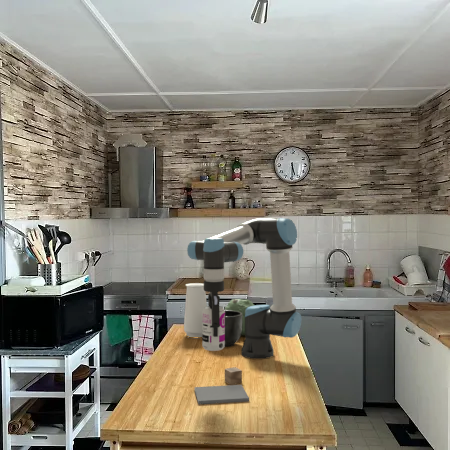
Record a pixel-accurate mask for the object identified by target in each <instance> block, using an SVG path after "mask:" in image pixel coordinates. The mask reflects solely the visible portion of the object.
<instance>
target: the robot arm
mask: <svg viewBox="0 0 450 450" xmlns="http://www.w3.org/2000/svg"><path fill="white" fill-rule="evenodd" d="M297 230H298V229H297V227H296V224H295V222H294V221H293V220H291V219H290V218H285V217H284V218H283V217H266V218H265V217H259V218H254V219H251V220H248V221H245V222H242V223H240V224H238V225H237V226H236V228H233V229H230V230H227V231H225V232H222V233H220V234H218V235H217V234H216V235H214V236H212V237H207V238H204V239H203V240H192V241H190V242H189V244H188V245H187V248H186V250H187V256H188V258H190V259H191V260H196V261H203V270H202V271H201V274H202V275H203V279H204V280H203V284H204V291H206V292H207V293H208V295H207V300H208V301H207V303H208V304H207V306H209V307H210V309H212V326H210V328H211V345H212V346H215V345H219V327H220V315H219V307H220V302H221V301H220V300H221V298H220V296H219V292H220V293H221V292H224V291H225V281H224V279H225V263H230V262H233V263H235V262H238V261H240V260H241V259H242V258H243V256H244V247H243V245H244V246H245V245H249V244H250V245H251V244H264V245H265V244H266V247H265V248H266V250H267V251H268V252H269V257H270V258H269V259H270V274H271V288H272V289H271V292H272V293H271V294H272V304H271V306H270V304H256V305H255V304H254V306H250V307H247V308H246V311H245V335H244V341H243V344H242V346H241V356H242V357H245V358H247V359H253V360H258V359H259V360H263V359H269V358H272V357H273V356H274V351H275V350H274V347H273V344H272V340H271V336H277V337H280V338H281V337H283V338H294V337H296V336H297V335H298V333H299V331H300V329H301V327H302V326H301V325H302V315H301V313H300V312H298V311H297V309H296V308H297V307H296V306H295V304H294V303H293V298H292V297H293V295H292V294H293V293H292V277H291V274H292V273H291V260H290V259H291V258H290V252H291V250H292V249H293V245H295V244H296V242H297V239H298V231H297Z"/></svg>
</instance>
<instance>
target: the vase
mask: <svg viewBox="0 0 450 450" xmlns="http://www.w3.org/2000/svg"><path fill="white" fill-rule="evenodd" d="M185 287H186V291H185V292H186V293H185V303H184V304H185V306H184V317H183V318H184V321H183V323H184V324H183V331H184V333H185V334H186V337H187V336H189V337H202V312H203V310H204V307H206V306H208V304H207V295H206V291H204V283H201V282H200V283H199V282H195V283H194V282H193V283H190V282H189V283H186V284H185ZM189 337H188V338H189Z"/></svg>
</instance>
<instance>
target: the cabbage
mask: <svg viewBox="0 0 450 450" xmlns="http://www.w3.org/2000/svg"><path fill="white" fill-rule="evenodd" d="M250 306H255V304H254V303H253V302H252V300H250V299H247V298H246V299H242V298H234V299H231V300H230V301H229V302H228V303H227V305H226V306H225V307H224V310H232V311H238V312H241V313H242V314H243V322H242V332H241V336H245V311H246V308H247V307H250Z"/></svg>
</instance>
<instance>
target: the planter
mask: <svg viewBox="0 0 450 450" xmlns="http://www.w3.org/2000/svg"><path fill="white" fill-rule="evenodd" d="M224 311H225V347H224V348H229V347H233V346H235V345H236V343H237V342H238V341H239V340H240V339H241V336H242V335H241V332H242V322H243V314H242V313H241V312H238V311H232V310H225V309H224Z"/></svg>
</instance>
